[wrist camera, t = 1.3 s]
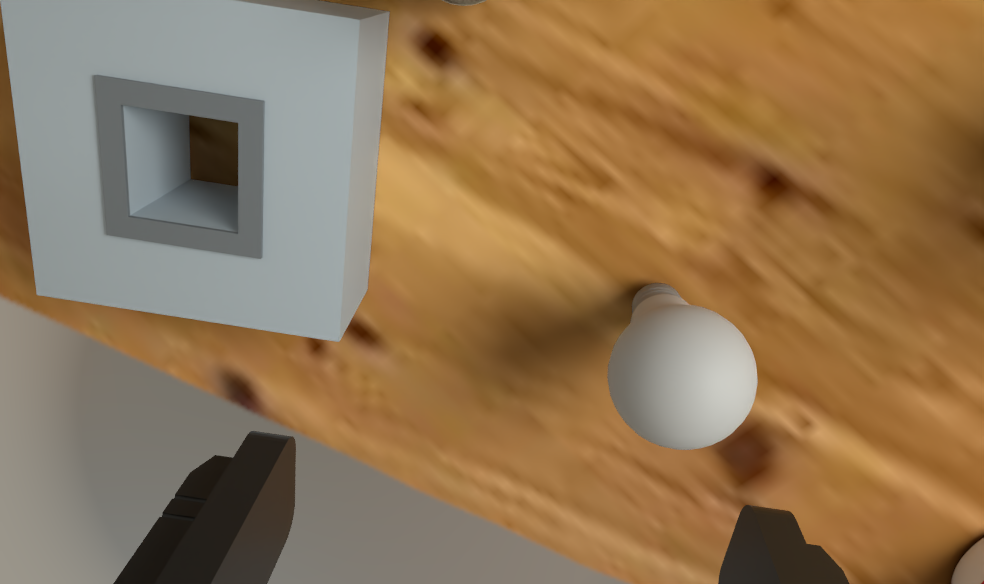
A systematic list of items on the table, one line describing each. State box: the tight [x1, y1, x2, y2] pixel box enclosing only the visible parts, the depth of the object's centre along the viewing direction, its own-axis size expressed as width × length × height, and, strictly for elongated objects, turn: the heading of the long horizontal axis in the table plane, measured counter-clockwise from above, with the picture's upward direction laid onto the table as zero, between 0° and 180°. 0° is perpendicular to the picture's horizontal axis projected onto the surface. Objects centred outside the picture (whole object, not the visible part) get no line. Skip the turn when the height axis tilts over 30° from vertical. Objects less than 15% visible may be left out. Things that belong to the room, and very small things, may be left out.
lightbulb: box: [608, 283, 758, 450], centre depth 33 cm, size 6×6×11 cm
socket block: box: [0, 0, 390, 342], centre depth 33 cm, size 14×14×6 cm
